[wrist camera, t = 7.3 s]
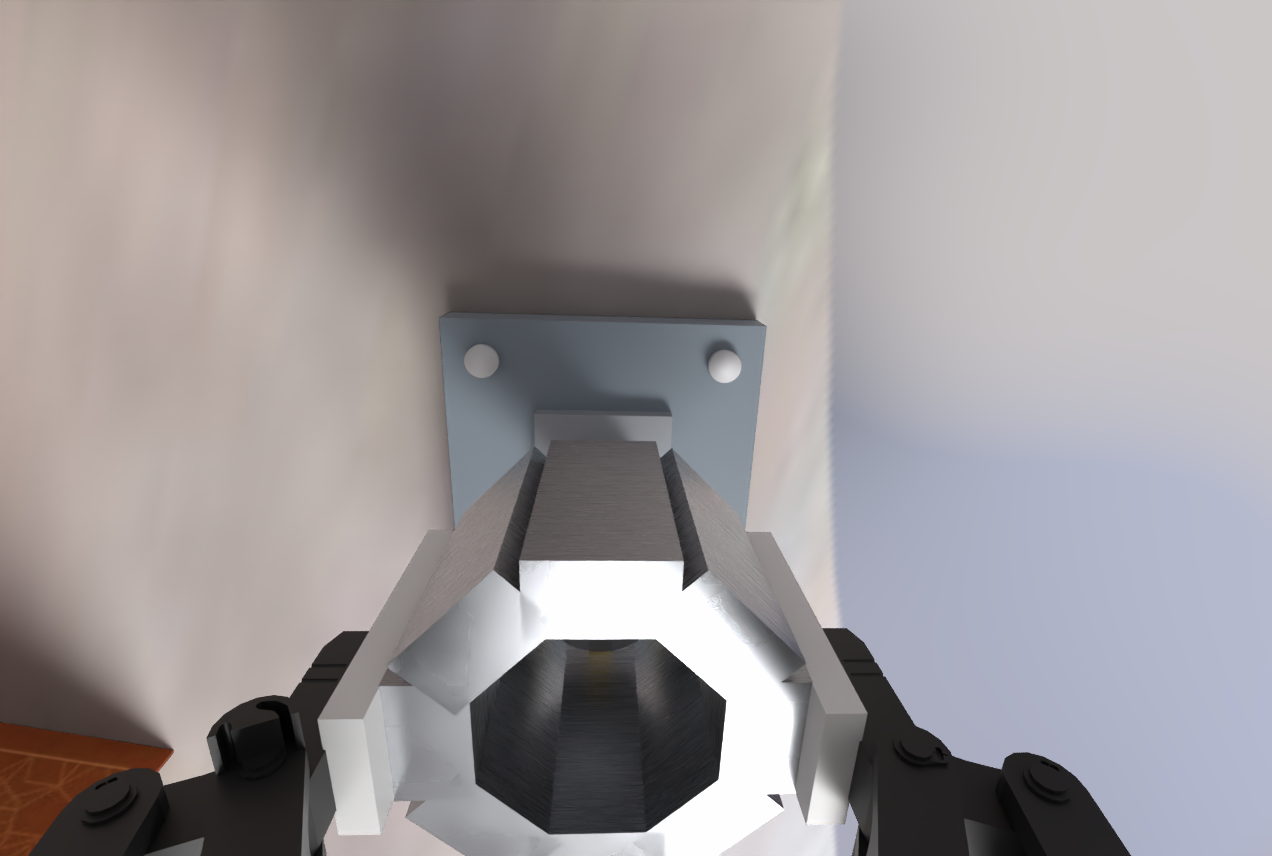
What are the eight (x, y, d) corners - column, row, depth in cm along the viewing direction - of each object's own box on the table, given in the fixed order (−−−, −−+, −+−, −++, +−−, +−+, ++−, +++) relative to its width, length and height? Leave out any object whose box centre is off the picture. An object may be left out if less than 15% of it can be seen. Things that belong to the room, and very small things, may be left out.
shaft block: (449, 311, 22) (335, 374, 13) (756, 320, 23) (860, 385, 14) (468, 580, 26) (391, 777, 17) (730, 580, 27) (797, 770, 18)
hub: (451, 438, 15) (361, 560, 10) (751, 442, 16) (832, 562, 10) (469, 683, 18) (406, 893, 12) (727, 680, 18) (780, 882, 13)
